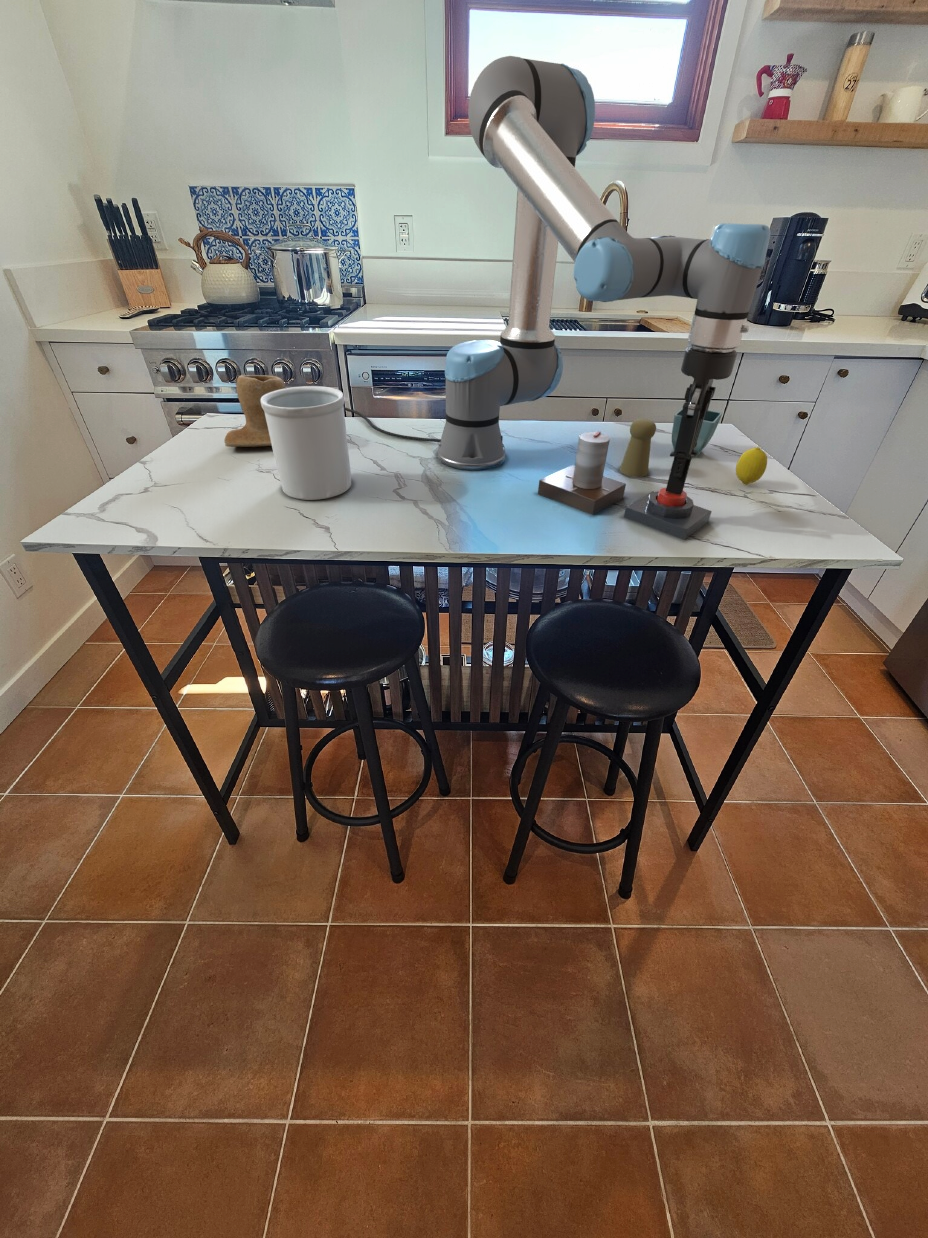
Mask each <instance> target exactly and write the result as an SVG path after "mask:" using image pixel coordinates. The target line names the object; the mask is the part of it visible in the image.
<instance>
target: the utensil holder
mask: <svg viewBox="0 0 928 1238" xmlns="http://www.w3.org/2000/svg"><path fill="white" fill-rule="evenodd" d="M285 388H286V387H285ZM260 401H261V406H262V408H263V410H264V412H265V417H266V421H267V426H268V430H269V435H270V439H271V444H272V446H271V448H272V452H273V458H274V463H275V466H276V470H277V474H278V477H279V482H280V485H281V490H282V491H283V493H284V494H285V495H286V496H288V497H291V498H293V499H297V500H305V501H314V500H315V501H317V500H323V499H324V500H325V499H331V498H334V497H336V496H340V495H341V494H343V493H345V492H347V491H348V490H349V489H350V488H351V486H352V475H351V474H352V473H351V462H350V453H349V445H348V437H347V436H348V435H347V425H346V416H345V410H344V407H345V406H344V404H345V395H344V393H343V392H342V390H340V389H337V388H333V387H329V386H321V385H320V386H319V385H303V386H293V387H287V388H286V389H280V390H276V391H273V392H270V393H267V394H265V395H264V396H262V397H261V400H260Z"/></svg>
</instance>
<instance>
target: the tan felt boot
mask: <svg viewBox="0 0 928 1238" xmlns="http://www.w3.org/2000/svg"><path fill="white" fill-rule="evenodd" d="M280 389H286V384H285V381H284V380H283V379H282V378H281V377H279V376H275V375H268V374H267V375H266V374H265V375H264V374H262V375H261V374H247V375H245V374H241V375H238V377H237V379H236V394H237V399H238V401H239V404H240V407H241V409H242V412H243V415H244V418H245V425H244V426H243V427H241V428H236V429H232V430H229V431H228V432H226V435H225V436H224V441H223V442H224V446H225V447H227V448H228V447H229V448H230V447H231V448H250V447H253V448H254V447H255V448H256V447H258V448H259V447H272V444H271V439H270V435H269V430H268V426H267V421H266V417H265V412H264V410H263V408H262V406H261V401H260V400H261V397H262V396H264V395H265V394H267V393H270V392H273V391H276V390H280Z"/></svg>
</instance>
